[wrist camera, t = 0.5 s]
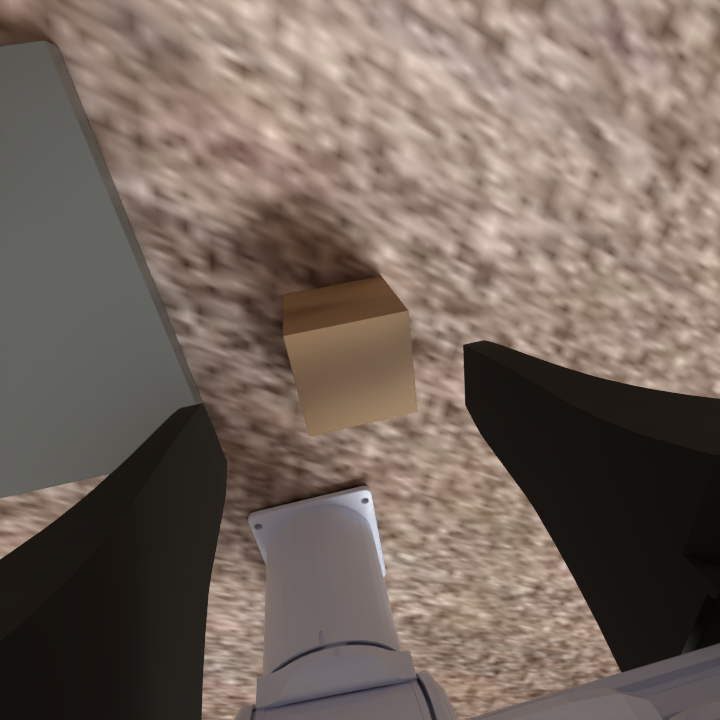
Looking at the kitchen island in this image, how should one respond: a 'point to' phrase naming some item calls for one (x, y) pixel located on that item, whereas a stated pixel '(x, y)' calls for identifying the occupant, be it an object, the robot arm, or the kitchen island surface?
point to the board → (71, 293)
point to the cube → (349, 354)
